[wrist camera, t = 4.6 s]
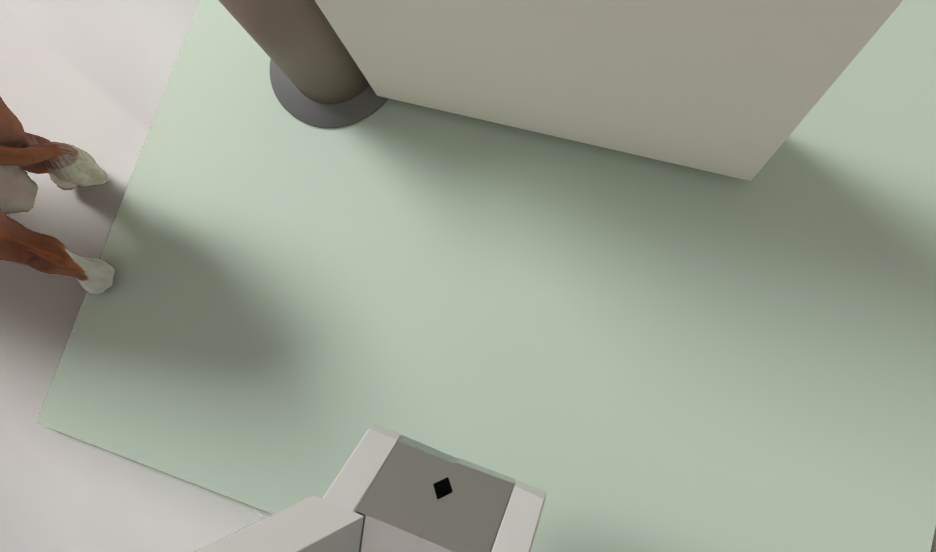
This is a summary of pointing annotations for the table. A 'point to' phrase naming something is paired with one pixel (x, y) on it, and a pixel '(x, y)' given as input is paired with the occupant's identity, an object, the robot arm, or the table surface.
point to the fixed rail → (301, 46)
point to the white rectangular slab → (617, 67)
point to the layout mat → (530, 308)
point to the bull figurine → (12, 191)
